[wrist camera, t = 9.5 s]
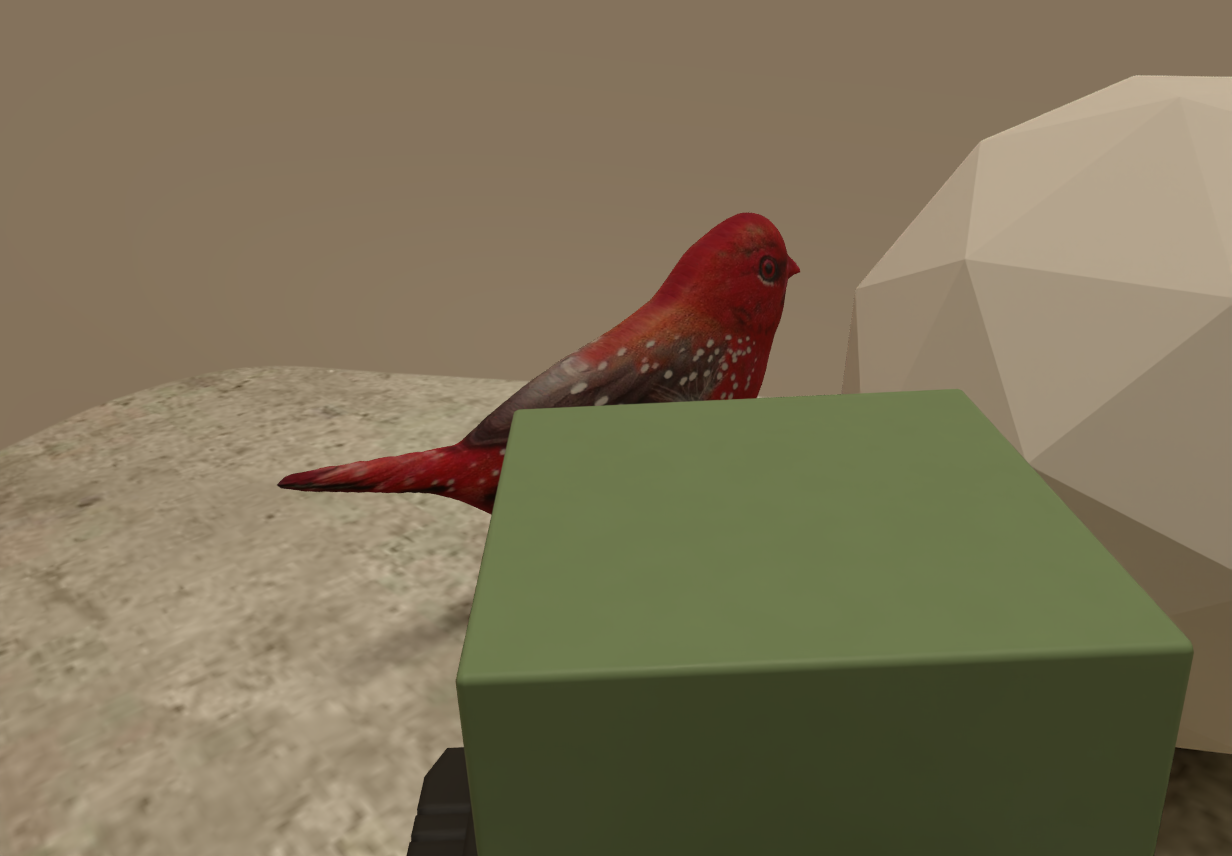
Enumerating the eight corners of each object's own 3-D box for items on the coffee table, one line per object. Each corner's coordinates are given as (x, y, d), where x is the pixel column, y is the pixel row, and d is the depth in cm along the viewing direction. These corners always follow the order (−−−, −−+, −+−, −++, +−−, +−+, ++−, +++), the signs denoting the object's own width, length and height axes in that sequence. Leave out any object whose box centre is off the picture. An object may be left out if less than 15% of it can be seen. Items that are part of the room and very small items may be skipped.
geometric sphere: (1268, 923, 25) (2095, 786, 12) (690, 667, 27) (886, 310, 14) (1296, 458, 32) (1831, 69, 20) (842, 280, 34) (1062, -187, 21)
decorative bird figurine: (828, 502, 35) (837, 205, 31) (343, 729, 25) (270, 337, 22) (766, 476, 37) (767, 195, 34) (296, 676, 28) (222, 311, 24)
